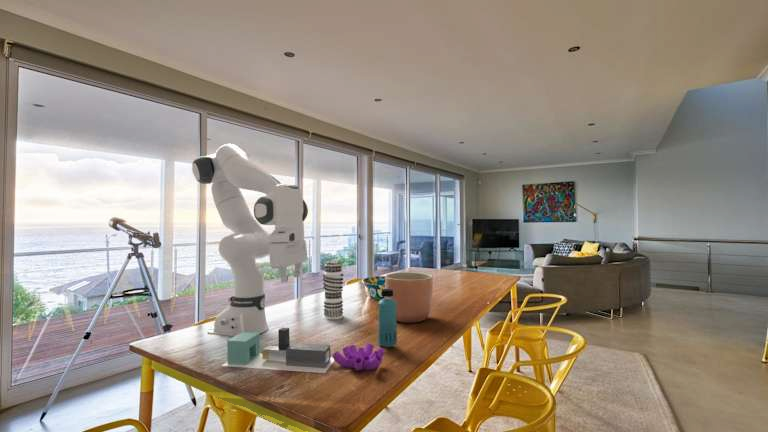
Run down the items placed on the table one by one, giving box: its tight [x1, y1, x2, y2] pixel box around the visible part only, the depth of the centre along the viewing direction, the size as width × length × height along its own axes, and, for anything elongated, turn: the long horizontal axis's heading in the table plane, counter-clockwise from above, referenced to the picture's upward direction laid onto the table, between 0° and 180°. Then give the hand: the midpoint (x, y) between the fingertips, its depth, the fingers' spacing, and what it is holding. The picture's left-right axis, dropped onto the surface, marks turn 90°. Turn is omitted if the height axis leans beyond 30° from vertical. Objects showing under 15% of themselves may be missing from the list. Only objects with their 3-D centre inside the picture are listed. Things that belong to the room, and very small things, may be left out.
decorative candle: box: [322, 260, 345, 320], centre depth 161 cm, size 9×9×25 cm
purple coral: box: [331, 342, 386, 371], centre depth 106 cm, size 11×15×10 cm
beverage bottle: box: [377, 288, 398, 347], centre depth 123 cm, size 6×7×20 cm
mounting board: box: [221, 352, 335, 374], centre depth 109 cm, size 32×11×1 cm, turn 80°
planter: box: [384, 271, 434, 324], centre depth 157 cm, size 21×21×19 cm
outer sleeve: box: [286, 342, 331, 368], centre depth 108 cm, size 12×5×5 cm, turn 80°
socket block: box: [226, 332, 261, 365], centre depth 111 cm, size 6×8×7 cm
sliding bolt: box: [262, 327, 329, 363], centre depth 108 cm, size 20×3×9 cm, turn 80°
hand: (291, 279), depth 112 cm, fingers open, 8 cm apart
